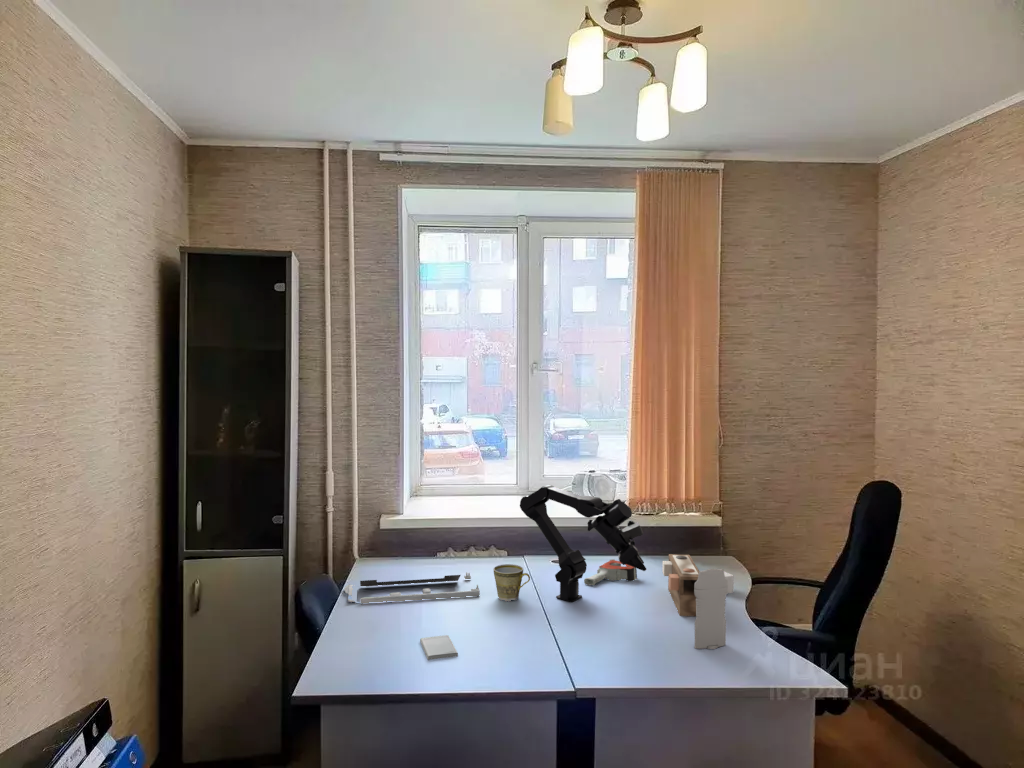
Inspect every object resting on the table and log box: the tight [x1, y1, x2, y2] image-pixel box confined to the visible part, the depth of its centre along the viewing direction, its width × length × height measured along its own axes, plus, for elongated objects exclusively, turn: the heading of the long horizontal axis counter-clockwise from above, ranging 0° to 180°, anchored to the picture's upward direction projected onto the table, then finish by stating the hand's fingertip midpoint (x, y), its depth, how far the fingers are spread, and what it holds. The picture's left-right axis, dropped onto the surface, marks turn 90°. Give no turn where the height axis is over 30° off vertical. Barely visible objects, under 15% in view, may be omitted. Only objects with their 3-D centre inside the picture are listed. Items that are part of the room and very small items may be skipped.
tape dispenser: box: [583, 558, 639, 587], centre depth 250 cm, size 18×5×20 cm
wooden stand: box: [667, 553, 700, 617], centre depth 226 cm, size 7×24×13 cm, turn 176°
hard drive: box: [419, 634, 459, 661], centre depth 189 cm, size 2×8×12 cm
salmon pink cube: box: [669, 574, 679, 591], centre depth 219 cm, size 4×4×4 cm
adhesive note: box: [724, 571, 735, 594], centre depth 237 cm, size 6×6×6 cm
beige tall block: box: [694, 568, 728, 650], centre depth 191 cm, size 11×4×22 cm, turn 106°
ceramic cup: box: [493, 563, 531, 602], centre depth 228 cm, size 13×10×10 cm
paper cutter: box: [343, 572, 481, 603], centre depth 235 cm, size 18×45×6 cm, turn 102°
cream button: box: [662, 560, 672, 577], centre depth 233 cm, size 4×4×4 cm
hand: (644, 566), depth 220 cm, fingers open, 6 cm apart
